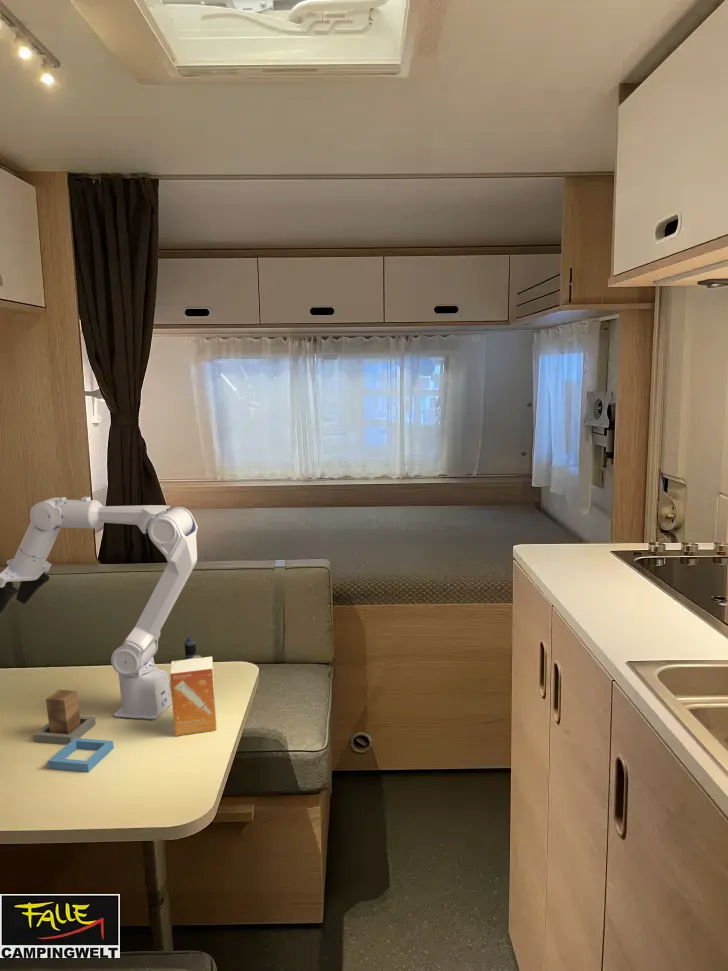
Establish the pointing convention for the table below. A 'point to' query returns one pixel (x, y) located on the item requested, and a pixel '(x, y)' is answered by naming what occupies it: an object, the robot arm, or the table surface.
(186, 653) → the vaping device
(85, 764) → the blue rim cradle
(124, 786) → the table surface
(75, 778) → the table surface
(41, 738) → the frame
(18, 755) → the table surface
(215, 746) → the table surface
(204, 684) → the small box
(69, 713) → the walnut peg
